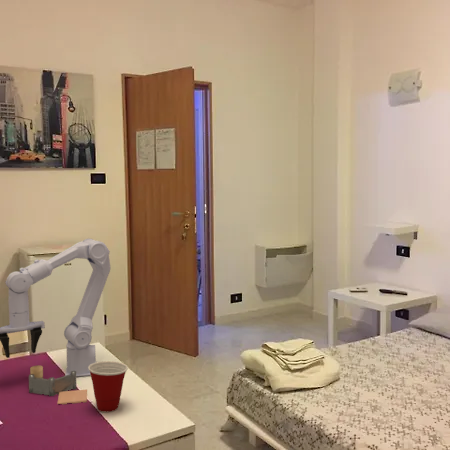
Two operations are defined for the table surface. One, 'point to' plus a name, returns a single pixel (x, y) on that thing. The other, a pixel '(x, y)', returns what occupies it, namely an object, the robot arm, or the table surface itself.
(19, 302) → the robot arm
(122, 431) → the table surface
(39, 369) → the oak dowel
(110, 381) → the plastic cup
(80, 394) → the coaster
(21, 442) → the table surface
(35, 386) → the bent rail
